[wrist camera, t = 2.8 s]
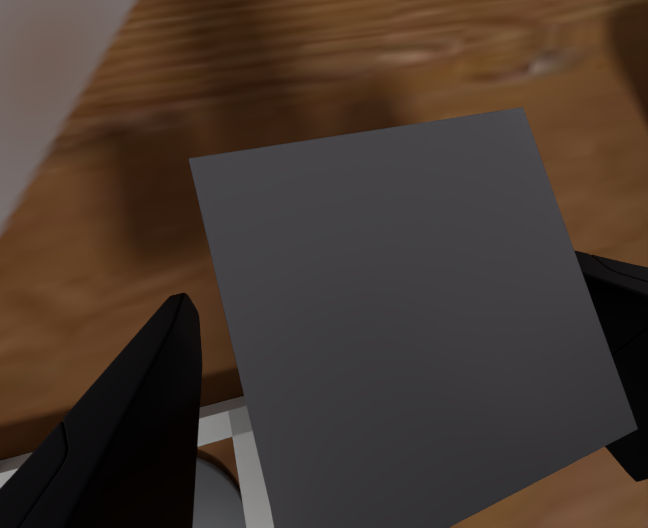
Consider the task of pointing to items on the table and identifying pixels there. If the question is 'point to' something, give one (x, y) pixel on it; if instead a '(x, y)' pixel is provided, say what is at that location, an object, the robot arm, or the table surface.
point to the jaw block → (406, 321)
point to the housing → (216, 472)
